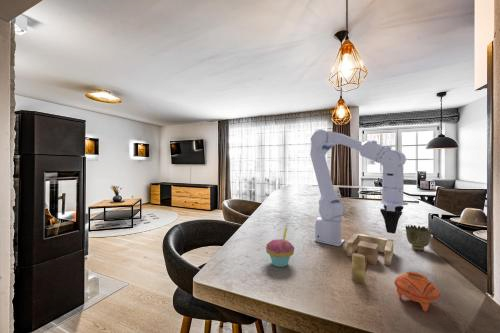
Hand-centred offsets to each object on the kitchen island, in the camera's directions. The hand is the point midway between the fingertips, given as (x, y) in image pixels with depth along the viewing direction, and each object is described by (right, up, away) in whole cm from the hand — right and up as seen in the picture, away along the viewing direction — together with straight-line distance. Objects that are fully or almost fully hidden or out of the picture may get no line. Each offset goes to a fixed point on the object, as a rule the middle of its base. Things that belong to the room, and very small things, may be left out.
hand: (391, 229), depth 69 cm
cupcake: (-37, -9, -4) cm, 38 cm away
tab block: (-13, -9, -7) cm, 17 cm away
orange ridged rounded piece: (-9, -10, -22) cm, 26 cm away
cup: (+15, -10, +8) cm, 19 cm away
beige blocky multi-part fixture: (-5, -9, +4) cm, 11 cm away
